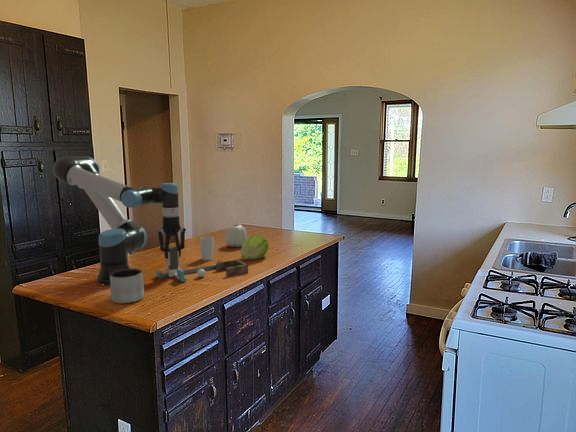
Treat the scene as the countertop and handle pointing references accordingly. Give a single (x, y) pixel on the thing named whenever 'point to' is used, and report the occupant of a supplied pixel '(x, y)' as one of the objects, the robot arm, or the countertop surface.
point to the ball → (201, 272)
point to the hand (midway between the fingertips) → (173, 264)
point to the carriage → (175, 265)
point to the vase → (236, 236)
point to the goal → (232, 267)
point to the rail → (185, 271)
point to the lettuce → (254, 247)
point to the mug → (207, 248)
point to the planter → (127, 285)
